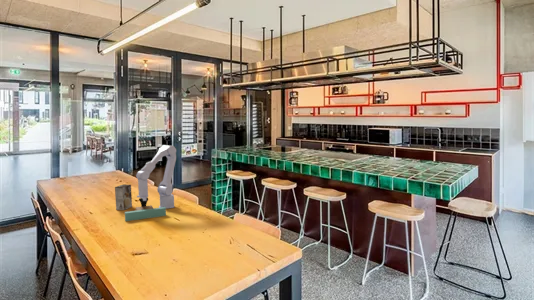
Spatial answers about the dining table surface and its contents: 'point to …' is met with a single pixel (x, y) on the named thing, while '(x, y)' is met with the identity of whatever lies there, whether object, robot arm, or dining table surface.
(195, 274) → the dining table surface
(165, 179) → the robot arm
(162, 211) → the teal board
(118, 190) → the coffee box
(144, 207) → the walnut block
